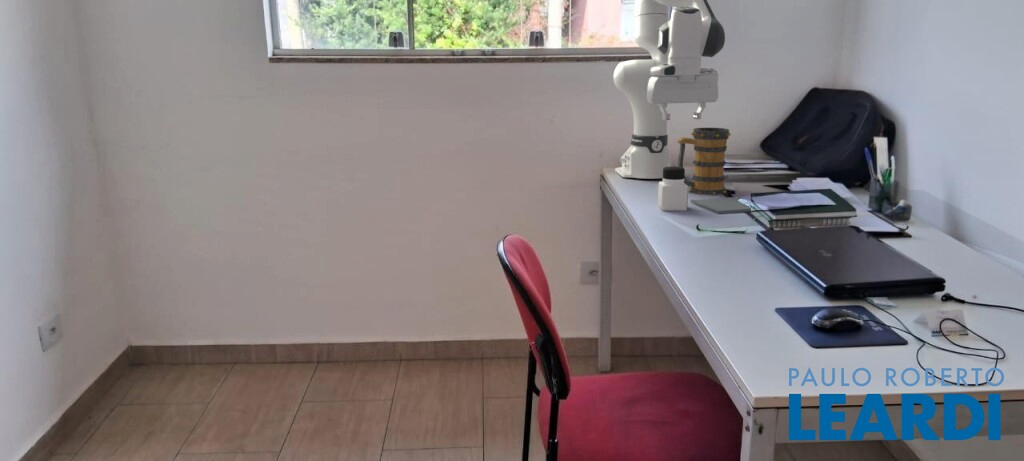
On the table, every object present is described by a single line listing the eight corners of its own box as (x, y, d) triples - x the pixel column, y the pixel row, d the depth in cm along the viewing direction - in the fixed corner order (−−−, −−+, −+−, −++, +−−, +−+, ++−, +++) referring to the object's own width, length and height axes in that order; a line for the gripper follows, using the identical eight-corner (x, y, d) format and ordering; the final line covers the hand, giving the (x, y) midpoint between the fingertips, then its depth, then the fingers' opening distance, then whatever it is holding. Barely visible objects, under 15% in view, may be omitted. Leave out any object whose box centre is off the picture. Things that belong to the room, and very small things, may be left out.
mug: (735, 196, 232) (739, 131, 227) (681, 198, 230) (684, 132, 225) (719, 189, 245) (723, 126, 240) (668, 190, 243) (670, 127, 238)
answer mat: (690, 202, 224) (690, 200, 223) (738, 199, 228) (739, 196, 227) (718, 213, 209) (718, 211, 208) (769, 210, 212) (769, 207, 212)
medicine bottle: (687, 210, 213) (689, 168, 210) (661, 211, 213) (663, 168, 210) (682, 205, 220) (684, 164, 217) (657, 205, 220) (659, 164, 217)
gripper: (712, 67, 213) (709, 117, 216) (645, 68, 208) (643, 119, 211) (724, 68, 207) (721, 119, 210) (655, 69, 202) (653, 121, 205)
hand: (681, 119), depth 210 cm, fingers open, 8 cm apart
